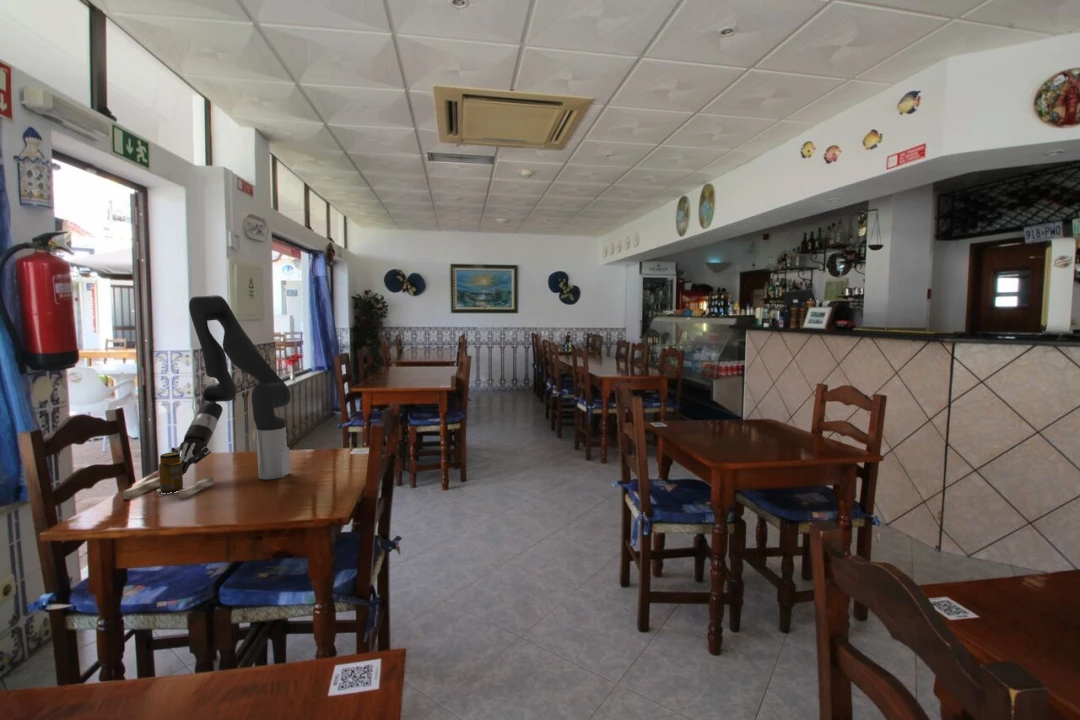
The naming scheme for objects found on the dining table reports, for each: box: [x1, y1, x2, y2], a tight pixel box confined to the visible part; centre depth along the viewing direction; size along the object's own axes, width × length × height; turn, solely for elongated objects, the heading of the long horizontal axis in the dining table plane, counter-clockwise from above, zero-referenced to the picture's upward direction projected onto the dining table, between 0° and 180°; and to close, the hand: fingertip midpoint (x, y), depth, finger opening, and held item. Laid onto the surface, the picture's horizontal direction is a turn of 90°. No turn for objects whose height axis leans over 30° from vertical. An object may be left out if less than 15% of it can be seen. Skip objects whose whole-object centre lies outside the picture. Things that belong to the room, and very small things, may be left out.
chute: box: [122, 476, 214, 500], centre depth 166 cm, size 14×19×2 cm
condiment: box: [156, 451, 184, 497], centre depth 166 cm, size 7×8×12 cm
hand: (179, 473), depth 170 cm, fingers closed
